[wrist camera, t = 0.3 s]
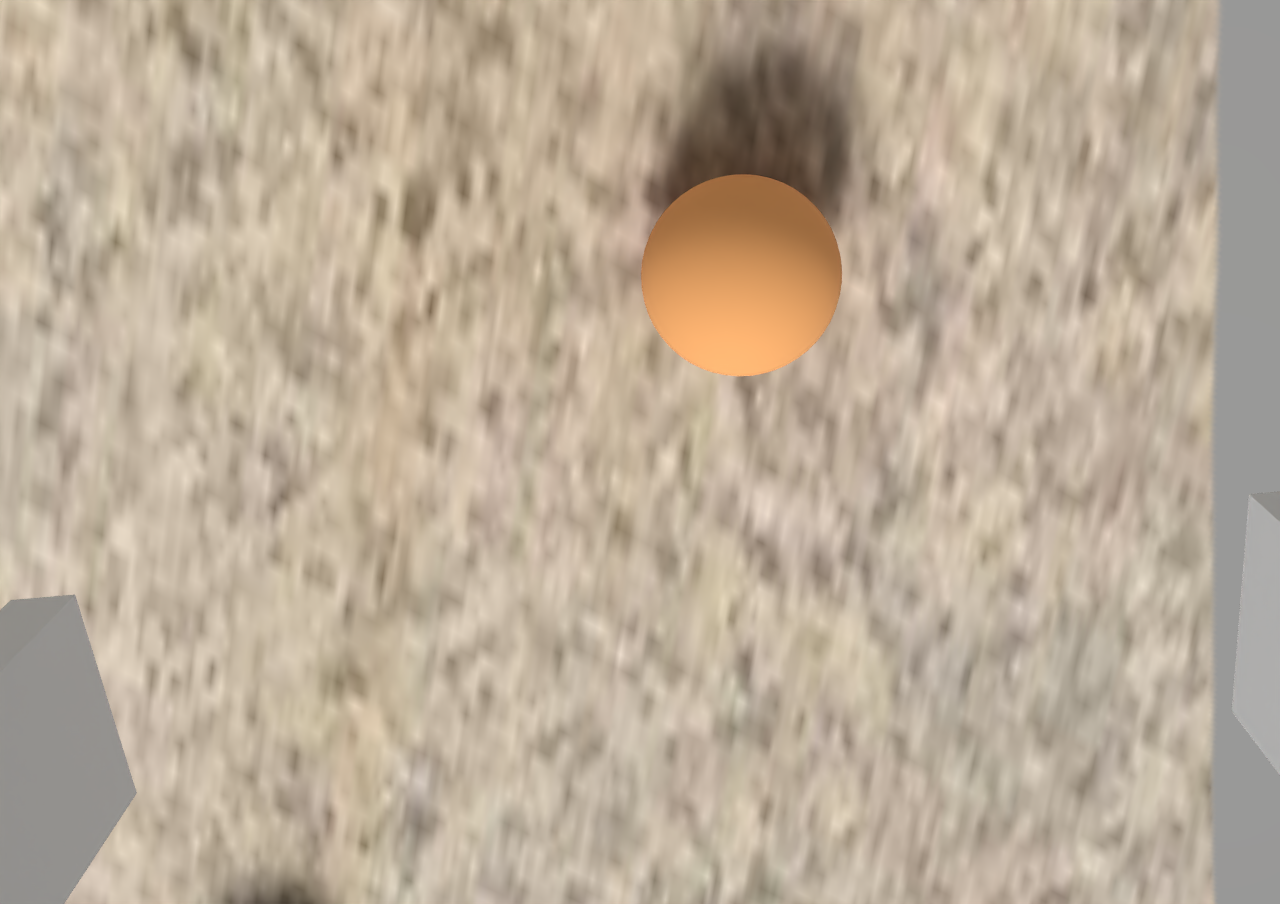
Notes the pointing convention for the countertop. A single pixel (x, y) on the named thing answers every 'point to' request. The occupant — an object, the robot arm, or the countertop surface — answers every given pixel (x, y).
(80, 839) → the robot arm
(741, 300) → the ball
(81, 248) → the countertop surface
